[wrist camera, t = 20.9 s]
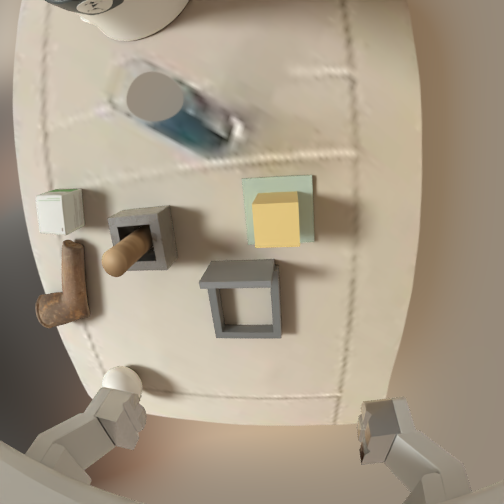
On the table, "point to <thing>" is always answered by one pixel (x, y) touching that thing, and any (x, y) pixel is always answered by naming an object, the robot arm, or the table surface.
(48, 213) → the small box
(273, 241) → the block
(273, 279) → the case
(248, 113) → the table surface
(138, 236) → the rod
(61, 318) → the pipe
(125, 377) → the white ovoid
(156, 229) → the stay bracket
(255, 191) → the pad
